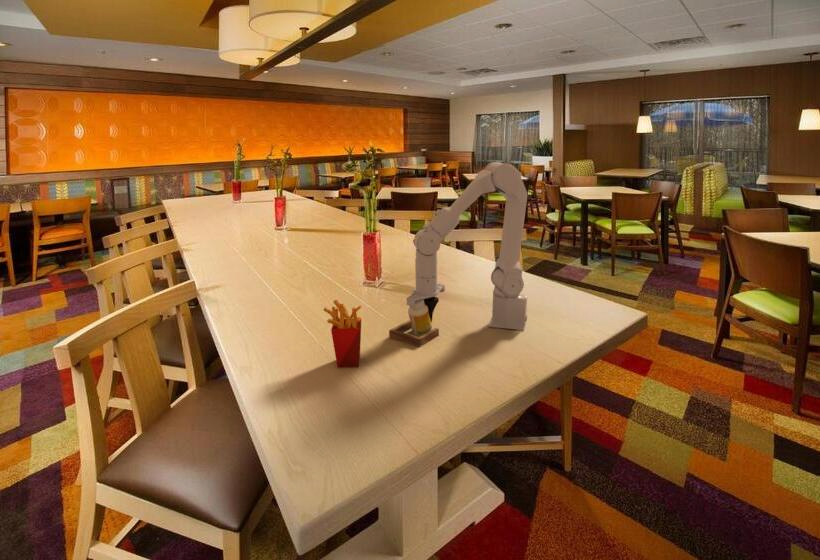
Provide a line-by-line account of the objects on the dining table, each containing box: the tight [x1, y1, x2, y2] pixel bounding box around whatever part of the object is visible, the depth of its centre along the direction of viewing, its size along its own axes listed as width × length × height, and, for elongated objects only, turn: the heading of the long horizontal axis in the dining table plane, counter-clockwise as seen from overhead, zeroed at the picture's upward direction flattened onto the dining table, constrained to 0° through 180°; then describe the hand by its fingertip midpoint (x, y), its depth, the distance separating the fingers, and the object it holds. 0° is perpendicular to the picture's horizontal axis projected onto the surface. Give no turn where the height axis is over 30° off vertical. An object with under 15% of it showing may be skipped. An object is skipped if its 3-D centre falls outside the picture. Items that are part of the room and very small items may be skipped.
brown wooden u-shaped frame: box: [388, 320, 440, 347], centre depth 126 cm, size 8×10×2 cm
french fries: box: [323, 299, 362, 369], centre depth 110 cm, size 9×8×15 cm
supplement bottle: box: [407, 299, 433, 336], centre depth 128 cm, size 5×5×10 cm
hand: (426, 322), depth 131 cm, fingers closed, pressing on supplement bottle
